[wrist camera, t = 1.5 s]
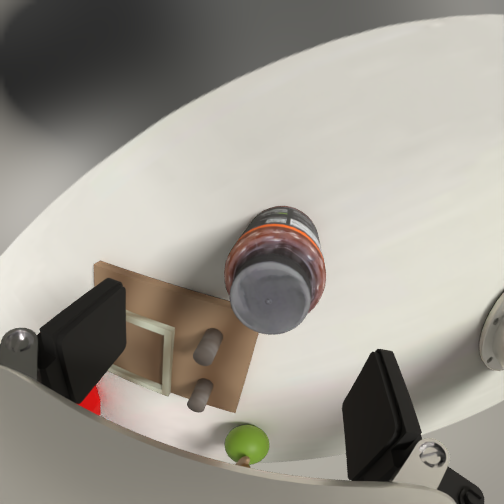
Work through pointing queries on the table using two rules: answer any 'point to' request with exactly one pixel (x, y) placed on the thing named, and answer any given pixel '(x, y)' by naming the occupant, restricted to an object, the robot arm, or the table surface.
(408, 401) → the robot arm
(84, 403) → the ball
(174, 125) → the table surface
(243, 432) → the snail figurine
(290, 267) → the supplement bottle
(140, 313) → the pin board
